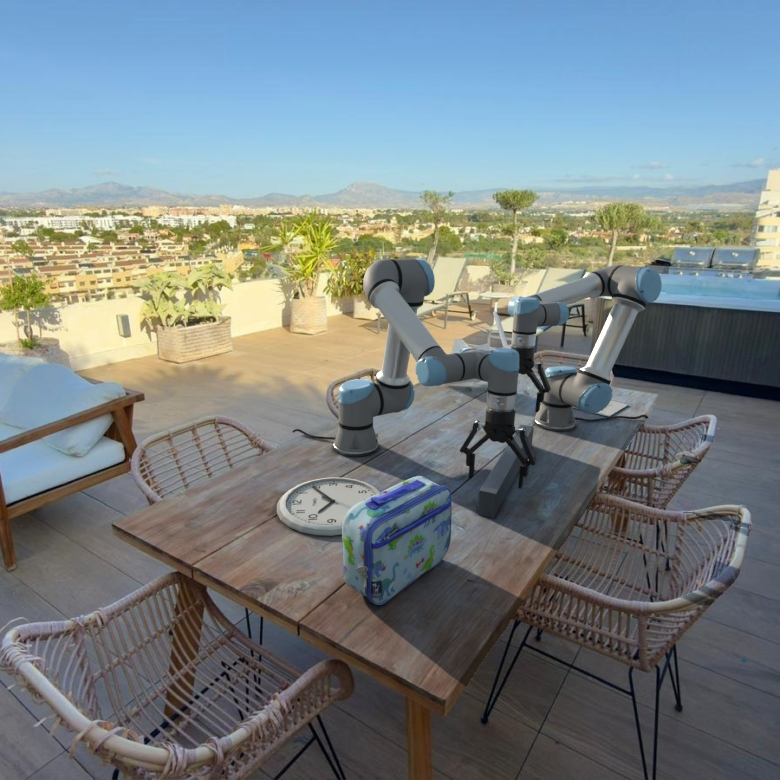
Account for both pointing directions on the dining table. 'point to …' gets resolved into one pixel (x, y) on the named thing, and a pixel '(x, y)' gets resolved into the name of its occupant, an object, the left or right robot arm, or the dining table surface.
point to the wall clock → (322, 504)
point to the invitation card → (611, 408)
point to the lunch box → (395, 537)
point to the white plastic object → (461, 344)
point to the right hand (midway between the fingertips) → (517, 407)
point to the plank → (501, 478)
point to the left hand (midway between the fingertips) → (495, 481)
